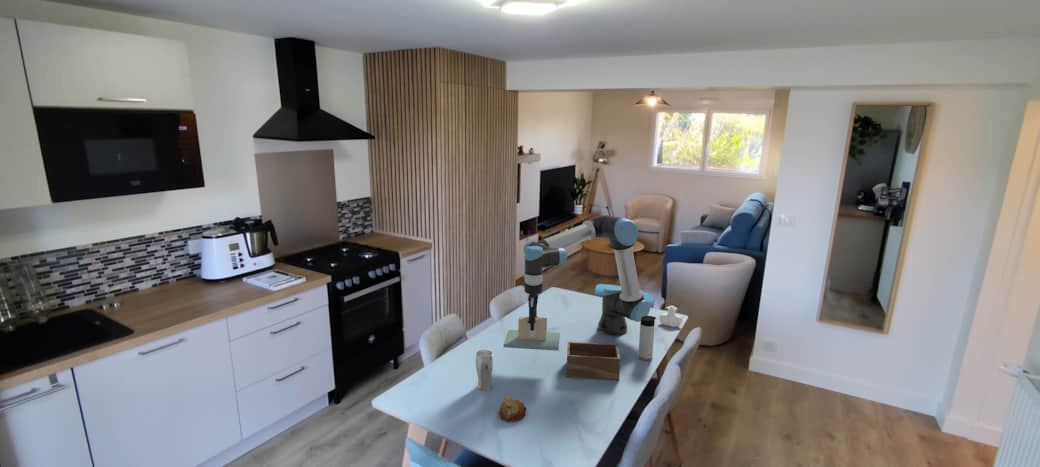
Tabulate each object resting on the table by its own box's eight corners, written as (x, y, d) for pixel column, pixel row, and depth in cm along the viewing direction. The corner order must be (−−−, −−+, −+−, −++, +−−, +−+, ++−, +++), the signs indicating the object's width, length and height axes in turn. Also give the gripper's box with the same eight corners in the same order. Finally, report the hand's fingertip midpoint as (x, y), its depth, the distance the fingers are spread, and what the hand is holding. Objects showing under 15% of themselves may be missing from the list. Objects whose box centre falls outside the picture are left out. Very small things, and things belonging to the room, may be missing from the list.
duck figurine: (681, 330, 260) (684, 310, 265) (681, 326, 254) (683, 305, 258) (658, 326, 265) (661, 307, 269) (657, 322, 258) (660, 302, 263)
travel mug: (653, 361, 220) (656, 320, 216) (638, 360, 222) (641, 319, 217) (652, 355, 226) (655, 315, 222) (638, 353, 228) (640, 313, 223)
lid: (508, 332, 218) (508, 310, 216) (559, 335, 215) (560, 313, 213) (503, 347, 203) (503, 323, 201) (558, 350, 201) (559, 326, 199)
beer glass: (495, 384, 200) (495, 350, 197) (489, 393, 194) (489, 358, 190) (480, 381, 202) (479, 348, 199) (473, 389, 196) (472, 355, 193)
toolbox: (567, 362, 219) (567, 341, 217) (616, 365, 217) (617, 344, 215) (566, 377, 206) (567, 355, 204) (619, 380, 203) (620, 359, 201)
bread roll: (503, 416, 185) (493, 399, 183) (527, 404, 184) (518, 387, 183) (504, 431, 175) (494, 414, 173) (530, 419, 175) (520, 402, 173)
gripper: (526, 276, 212) (525, 327, 217) (522, 288, 196) (521, 342, 201) (543, 277, 211) (542, 327, 216) (540, 289, 196) (539, 343, 201)
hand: (532, 334), depth 209 cm, fingers closed on lid, 3 cm apart
